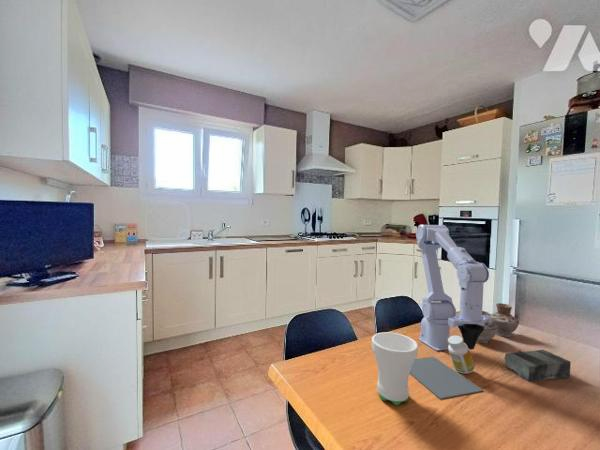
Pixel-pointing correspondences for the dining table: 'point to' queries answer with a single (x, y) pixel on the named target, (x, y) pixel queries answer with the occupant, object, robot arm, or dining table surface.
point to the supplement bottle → (460, 355)
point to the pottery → (499, 323)
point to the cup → (394, 364)
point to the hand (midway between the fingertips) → (469, 347)
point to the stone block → (538, 365)
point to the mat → (441, 378)
